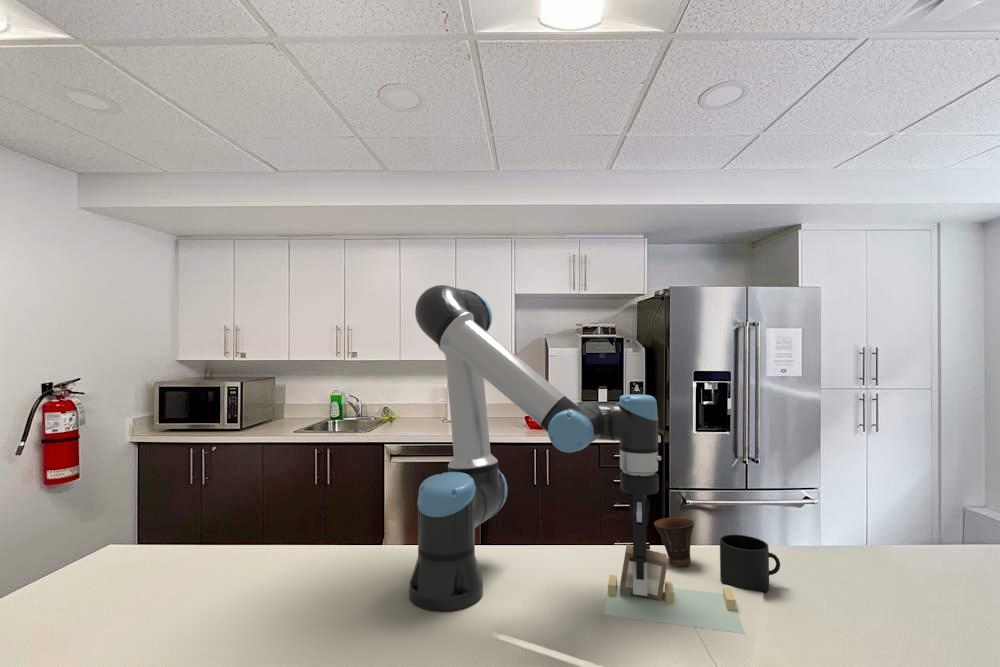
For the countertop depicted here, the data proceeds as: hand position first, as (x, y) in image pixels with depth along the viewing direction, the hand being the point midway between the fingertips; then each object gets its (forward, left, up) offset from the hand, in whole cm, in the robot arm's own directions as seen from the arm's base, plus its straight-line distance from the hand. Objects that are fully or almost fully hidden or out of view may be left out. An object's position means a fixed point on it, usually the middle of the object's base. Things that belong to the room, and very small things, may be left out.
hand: (640, 587), depth 104 cm
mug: (+23, +12, -2) cm, 26 cm away
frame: (0, 0, 0) cm, 0 cm away
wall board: (+6, -3, -2) cm, 7 cm away
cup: (+8, +20, -2) cm, 22 cm away
